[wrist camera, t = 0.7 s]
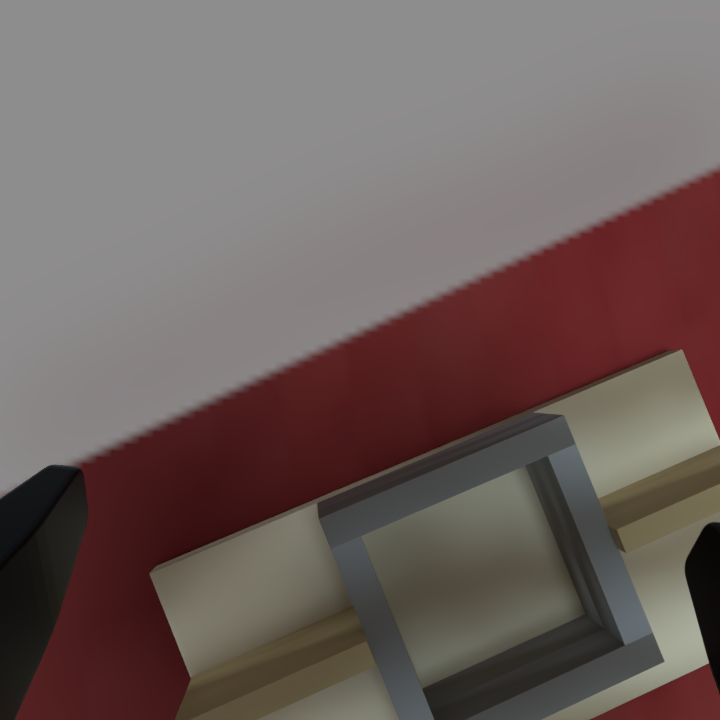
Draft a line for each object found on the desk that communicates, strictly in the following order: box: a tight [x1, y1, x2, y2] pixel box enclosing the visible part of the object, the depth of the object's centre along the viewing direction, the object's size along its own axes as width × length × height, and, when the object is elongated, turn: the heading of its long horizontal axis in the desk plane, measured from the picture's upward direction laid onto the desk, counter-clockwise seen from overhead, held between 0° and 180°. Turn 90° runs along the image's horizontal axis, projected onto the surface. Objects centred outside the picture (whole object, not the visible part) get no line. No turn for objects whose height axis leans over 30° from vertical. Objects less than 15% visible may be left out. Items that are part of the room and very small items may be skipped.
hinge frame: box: [149, 349, 720, 720], centre depth 23 cm, size 11×21×4 cm, turn 112°
